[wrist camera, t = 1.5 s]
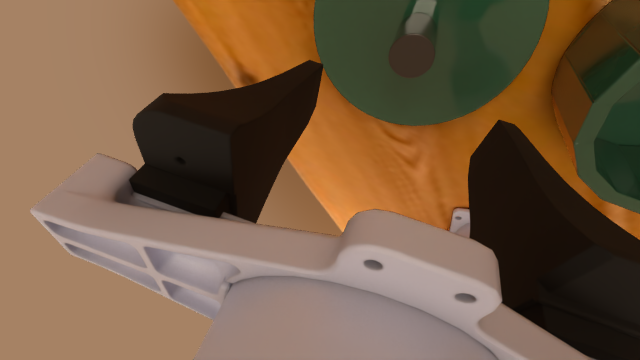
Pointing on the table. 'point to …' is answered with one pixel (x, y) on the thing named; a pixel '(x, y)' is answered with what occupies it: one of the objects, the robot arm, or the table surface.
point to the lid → (425, 53)
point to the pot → (603, 103)
